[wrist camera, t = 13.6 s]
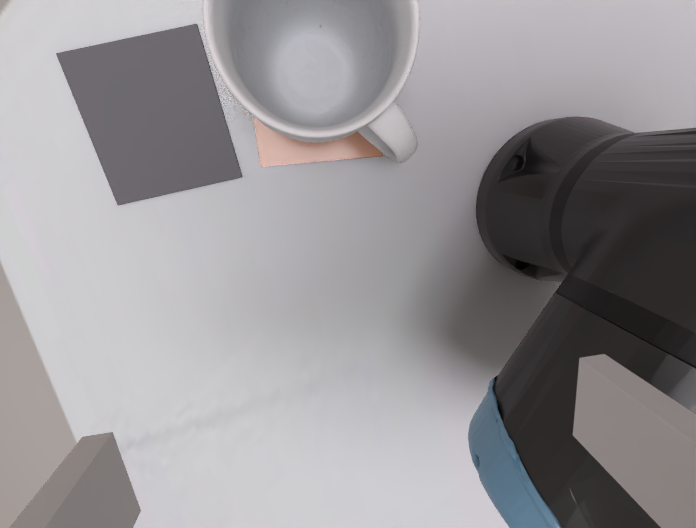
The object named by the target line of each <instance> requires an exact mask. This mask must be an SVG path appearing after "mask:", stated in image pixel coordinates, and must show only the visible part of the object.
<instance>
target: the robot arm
mask: <svg viewBox="0 0 696 528" xmlns="http://www.w3.org/2000/svg"><path fill="white" fill-rule="evenodd" d="M477 222H478V227H479V231H480V234H481V237H482V239H483V241H484V243H485V245H486V247H487V248H488V250H489V251H490V253H491V254H492V255H493V256H494V257H495V258H496V259H497V260H498V261H499V262H501V263H502V264H503V265H505V266H507V267H508V268H510V269H512V270H514V271H516V272H517V273H519V274H522V275H524V276H527V277H530V278H534V279H538V280H545V281H563V282H562V283H561V285H560V286H559V288H558V289H557V291H556V292H555V293H554V295H553V296H552V298H551V299H550V301H549V302H548V303H547V305H546V306H545V308H544V309H543V311H542V312H541V314H540V315H539V317H538V318H537V320H536V321H535V323H534V324H533V325H532V327H531V328H530V330H529V331H528V333H527V334H526V336H525V337H524V339H523V340H522V342H521V343H520V345H519V346H518V347H517V349H516V350H515V352H514V353H513V355H512V356H511V358H510V359H509V361H508V362H507V364H506V365H505V367H504V368H503V369H502V371H501V372H500V374H499V375H498V376H496V377H495V378H494V379H492V380H491V382H490V384H489V387H488V392H487V394H486V396H485V397H484V399H483V401H482V402H481V404H480V406H479V407H478V409H477V411H476V412H475V414H474V416H473V418H472V420H471V422H470V426H469V433H468V440H469V449H470V453H471V456H472V461H473V463H474V465H475V467H476V469H477V471H478V473H479V478H480V481H481V483H482V485H483V487H484V488H485V490H486V492H487V494H488V496H489V497H490V499H491V501H492V502H493V504H494V506H495V507H496V509H497V510H498V512H499V513H500V515H501V516H502V518H503V519H504V520H505V522H506V523H507V525H508V526H509V527H510V528H696V128H689V129H678V130H666V131H654V132H643V133H634V132H631V131H628V130H626V129H623V128H620V127H617V126H615V125H612V124H609V123H606V122H603V121H601V120H597V119H593V118H587V117H566V118H560V119H553V120H548V121H544V122H540V123H537V124H535V125H532V126H530V127H528V128H526V129H525V130H523V131H521V132H520V133H518V134H517V135H515V136H514V137H513V138H512V139H510V140H509V141H508V142H507V143H506V144H505V145H504V146H503V147H502V148H501V149H500V150H499V152H498V153H497V154H496V155H495V157H494V158H493V160H492V161H491V163H490V164H489V166H488V168H487V170H486V172H485V174H484V176H483V179H482V182H481V185H480V188H479V193H478V198H477ZM584 307H585V308H584ZM140 511H141V510H140V507H139V504H138V501H137V499H136V496H135V493H134V490H133V488H132V485H131V482H130V479H129V476H128V474H127V471H126V468H125V465H124V463H123V460H122V457H121V454H120V451H119V449H118V446H117V443H116V440H115V438H114V435H113V432H111V433H104V434H98V435H92V436H86V437H82V438H81V440H80V441H79V442H78V443H77V445H76V446H75V447H74V448H73V450H72V451H71V452H70V453H69V454H68V456H67V457H66V458H65V459H64V461H63V462H62V463H61V464H60V466H59V467H58V468H57V469H56V470H55V472H54V473H53V474H52V476H51V477H50V478H49V479H48V480H47V482H46V483H45V484H44V485H43V487H42V488H41V489H40V490H39V492H38V493H37V494H36V495H35V497H34V498H33V499H32V500H31V501H30V503H29V504H28V505H27V506H26V508H25V509H24V510H23V511H22V513H21V514H20V515H19V516H18V517H17V519H16V520H15V521H14V522H13V524H12V525H11V526H10V527H9V528H133V526H134V524H135V522H136V520H137V518H138V515H139V513H140Z"/></svg>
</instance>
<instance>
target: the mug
mask: <svg viewBox="0 0 696 528" xmlns="http://www.w3.org/2000/svg"><path fill="white" fill-rule="evenodd" d="M203 23H204V30H205V36H206V40H207V44H208V47H209V51H210V54H211V57H212V59H213V62H214V64H215V67H216V69H217V71H218V73H219V74H220V76H221V78H222V80H223V82H224V83H225V85H226V86H227V88H228V89H229V91H230V92H231V94H232V95H233V96H234V97H235V98H236V100H237V101H238V102H239V103H240V104H241V105H242V106H243V107H244V108H245V109H246V110H247V111H248V112H249V113H250V114H251V115H253V116H254V117H255V118H256V119H257V120H258V121H260V122H261V123H262V124H263V125H265V126H266V127H268V128H270V129H271V130H273V131H275V132H277V133H279V134H281V135H283V136H286V137H288V138H290V139H296V140H298V141H304V142H307V143H308V142H313V143H318V142H320V143H323V142H331V141H334V140H338V139H340V138H345V137H347V136H350V135H352V134H354V133H355V132H357V131H358V132H359V133H360V134H361V135H362V136H363V137H364V138H365V139H366V140H367V141H369V142H370V143H371V144H372V145H374V146H375V147H376V148H377V149H378V150H380V151H381V152H382V153H383V154H385V155H386V156H387V157H388V158H390V159H391V160H393V161H394V162H396V163H403V162H405V161H406V160H407V159H409V158H410V157H411V156H412V155H413V154H414V152H415V150H416V148H417V138H416V136H415V133H414V131H413V129H412V127H411V125H410V123H409V121H408V120H407V118H406V116H405V114H404V113H403V111H402V110H401V108H400V107H399V106H398V104H397V103H396V102H395V101H394V100H395V99H396V97H397V96H398V94H399V93H400V91H401V90H402V88H403V86H404V84H405V82H406V80H407V78H408V76H409V74H410V72H411V69H412V66H413V63H414V60H415V57H416V52H417V47H418V41H419V29H420V18H419V5H418V0H203Z"/></svg>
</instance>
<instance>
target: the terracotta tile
mask: <svg viewBox="0 0 696 528" xmlns="http://www.w3.org/2000/svg"><path fill="white" fill-rule="evenodd" d="M253 118H254V125H255V131H256V138H257V145H258V152H259V158H260V165H261V167H266V166H277V165H289V164H300V163H311V162H322V161H334V160H345V159H356V158H367V157H378V156H383V153H382V152H381V151H380V150H378V149H377V148H376V147H375V146H374V145H372V144H371V143H370V142H369V141H367V140H366V139H365V138H364V137H363V136H362V135H361V134H360V133H359V132H358V131H357V132H355V133H354V134H352V135H350V136H347V137H345V138H340V139H338V140H334V141H331V142H323V143H320V142H318V143H313V142H308V143H307V142H304V141H298V140H296V139H290V138H288V137H286V136H283V135H281V134H279V133H277V132H275V131H273V130H271V129H270V128H268V127H266V126H265V125H263V124H262V123H261V122H260V121H258V120H257V119H256V118H255V117H254V116H253Z"/></svg>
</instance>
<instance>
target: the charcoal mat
mask: <svg viewBox="0 0 696 528" xmlns="http://www.w3.org/2000/svg"><path fill="white" fill-rule="evenodd" d="M56 55H57V57H58V60H59V62H60V64H61V67H62V69H63V72H64V74H65V77H66V79H67V82H68V84H69V87H70V89H71V91H72V94H73V96H74V99H75V101H76V104H77V106H78V109H79V111H80V114H81V116H82V119H83V121H84V123H85V126H86V128H87V131H88V133H89V136H90V138H91V141H92V143H93V146H94V148H95V150H96V153H97V155H98V158H99V160H100V163H101V165H102V168H103V170H104V173H105V175H106V178H107V180H108V182H109V185H110V187H111V190H112V192H113V195H114V197H115V200H116V202H117V205H122V204H126V203H130V202H135V201H139V200H144V199H148V198H152V197H157V196H161V195H166V194H170V193H174V192H179V191H183V190H188V189H192V188H196V187H201V186H205V185H210V184H214V183H218V182H223V181H227V180H232V179H236V178H240V177H242V174H241V171H240V168H239V164H238V161H237V157H236V154H235V151H234V147H233V144H232V140H231V137H230V134H229V130H228V127H227V124H226V120H225V117H224V113H223V110H222V107H221V103H220V100H219V97H218V93H217V90H216V86H215V83H214V80H213V76H212V73H211V70H210V66H209V63H208V59H207V56H206V53H205V49H204V46H203V43H202V39H201V36H200V32H199V29H198V26H197V24H194V25H189V26H184V27H179V28H175V29H170V30H165V31H160V32H156V33H151V34H146V35H141V36H137V37H132V38H127V39H122V40H118V41H113V42H108V43H104V44H99V45H94V46H89V47H85V48H80V49H75V50H70V51H66V52H61V53H56Z"/></svg>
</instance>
